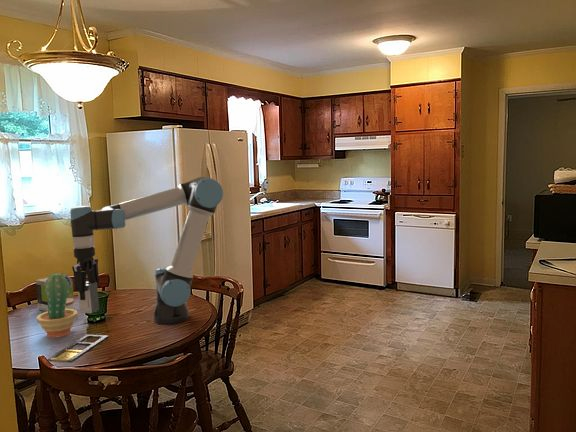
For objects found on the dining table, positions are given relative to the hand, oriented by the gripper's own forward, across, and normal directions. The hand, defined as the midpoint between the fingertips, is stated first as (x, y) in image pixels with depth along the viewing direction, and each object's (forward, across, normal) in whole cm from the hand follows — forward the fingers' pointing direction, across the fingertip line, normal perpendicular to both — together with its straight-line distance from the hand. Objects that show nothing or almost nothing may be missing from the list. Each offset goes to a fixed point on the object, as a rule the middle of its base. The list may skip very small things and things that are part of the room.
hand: (89, 305), depth 189 cm
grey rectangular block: (+2, 0, 0) cm, 2 cm away
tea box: (+14, -34, -40) cm, 55 cm away
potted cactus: (+14, -5, -18) cm, 24 cm away
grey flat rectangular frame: (+14, +8, 0) cm, 16 cm away
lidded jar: (+14, -23, -29) cm, 40 cm away
